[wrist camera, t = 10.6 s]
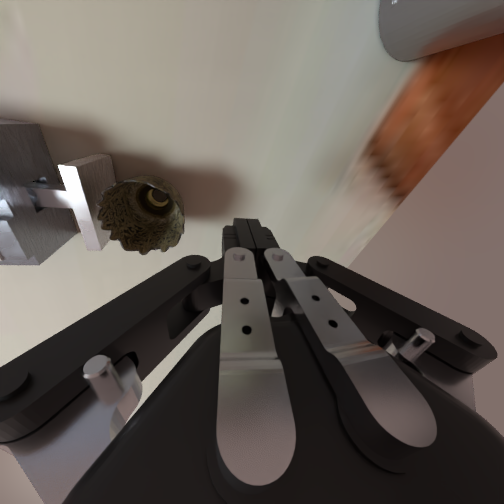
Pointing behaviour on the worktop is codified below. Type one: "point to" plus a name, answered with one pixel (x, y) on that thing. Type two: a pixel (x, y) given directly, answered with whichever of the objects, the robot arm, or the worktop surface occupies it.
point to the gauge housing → (28, 198)
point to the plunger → (79, 194)
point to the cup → (142, 214)
